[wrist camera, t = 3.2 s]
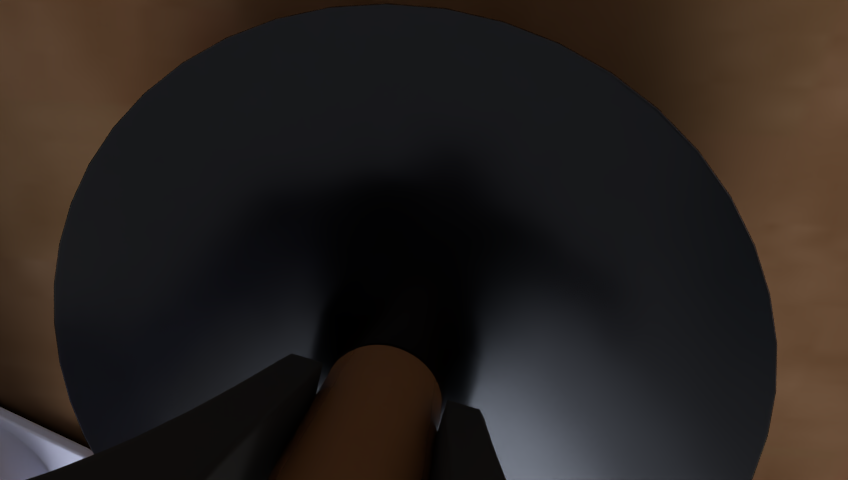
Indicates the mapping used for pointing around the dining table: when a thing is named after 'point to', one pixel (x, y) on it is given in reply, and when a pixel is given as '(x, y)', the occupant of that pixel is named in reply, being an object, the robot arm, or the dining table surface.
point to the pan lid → (418, 256)
